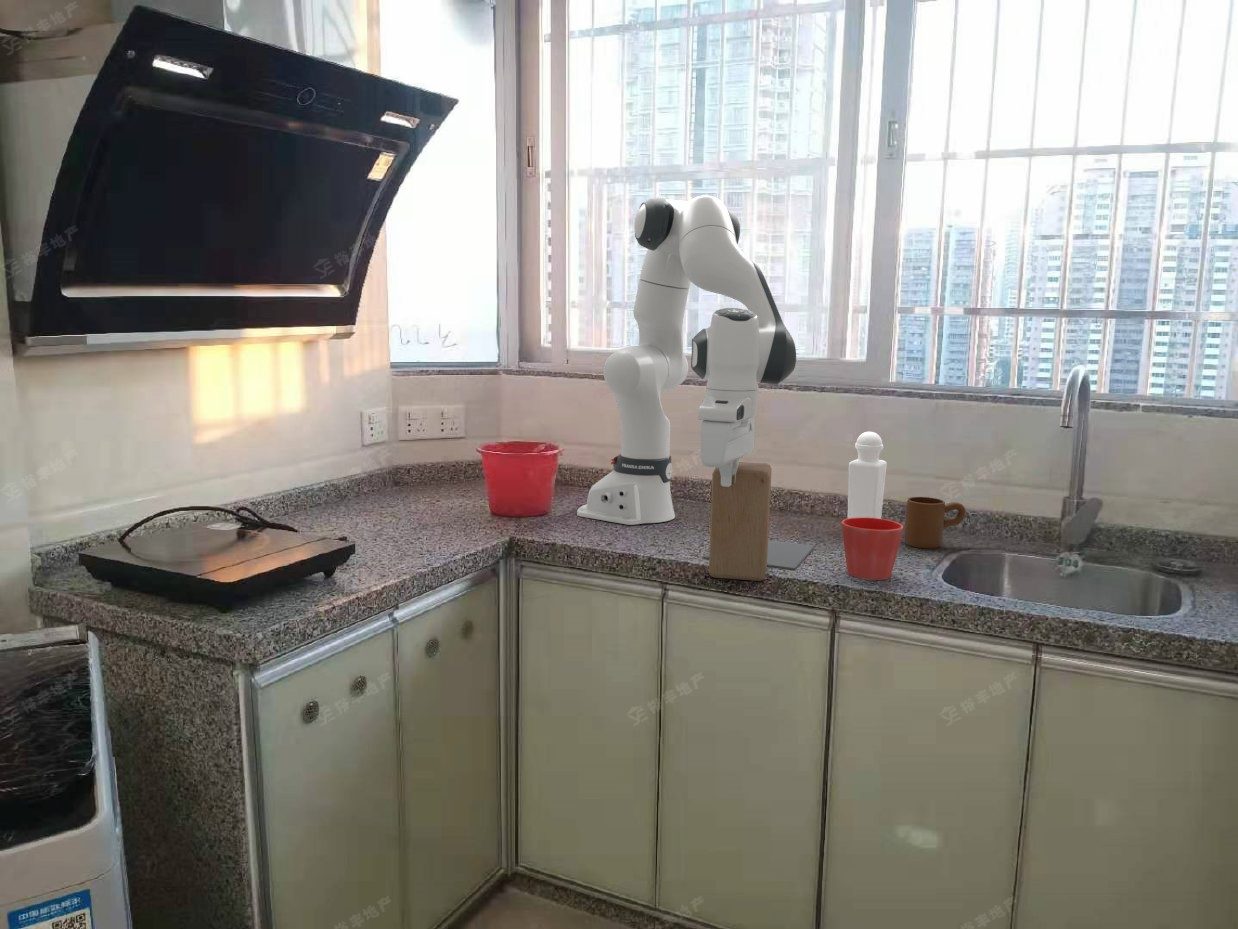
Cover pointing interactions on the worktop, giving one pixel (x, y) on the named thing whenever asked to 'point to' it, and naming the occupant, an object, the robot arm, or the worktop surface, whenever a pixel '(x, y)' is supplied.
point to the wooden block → (740, 523)
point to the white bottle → (866, 478)
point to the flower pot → (871, 546)
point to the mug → (929, 521)
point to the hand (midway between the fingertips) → (727, 485)
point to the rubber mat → (784, 554)
